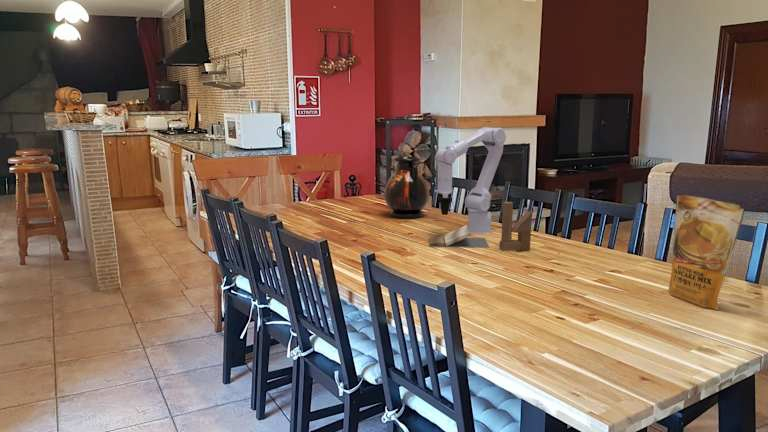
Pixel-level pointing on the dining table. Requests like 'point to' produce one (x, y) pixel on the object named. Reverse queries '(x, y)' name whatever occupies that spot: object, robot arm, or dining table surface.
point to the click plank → (456, 235)
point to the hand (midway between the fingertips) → (444, 213)
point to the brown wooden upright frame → (515, 230)
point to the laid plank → (436, 240)
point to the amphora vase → (406, 189)
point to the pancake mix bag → (702, 248)
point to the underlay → (469, 243)
